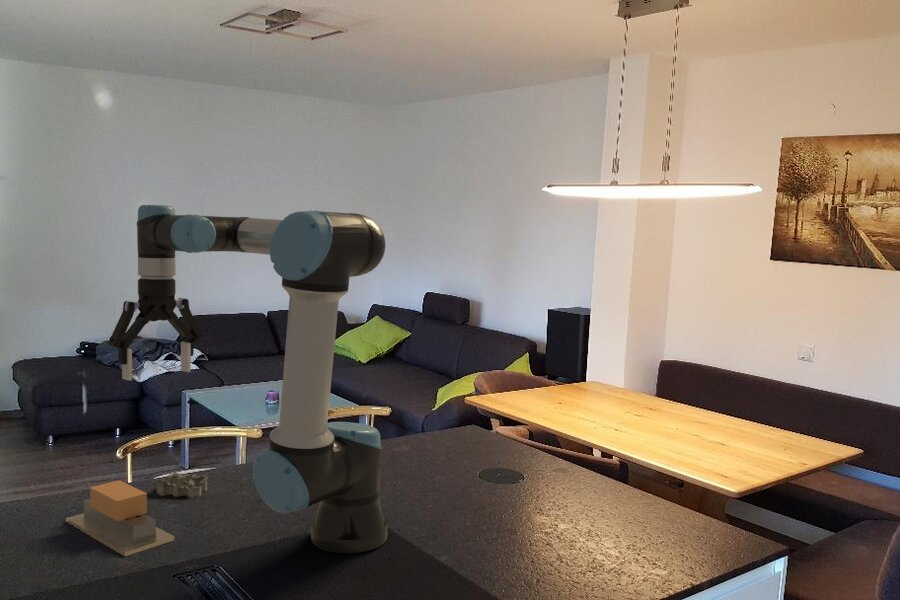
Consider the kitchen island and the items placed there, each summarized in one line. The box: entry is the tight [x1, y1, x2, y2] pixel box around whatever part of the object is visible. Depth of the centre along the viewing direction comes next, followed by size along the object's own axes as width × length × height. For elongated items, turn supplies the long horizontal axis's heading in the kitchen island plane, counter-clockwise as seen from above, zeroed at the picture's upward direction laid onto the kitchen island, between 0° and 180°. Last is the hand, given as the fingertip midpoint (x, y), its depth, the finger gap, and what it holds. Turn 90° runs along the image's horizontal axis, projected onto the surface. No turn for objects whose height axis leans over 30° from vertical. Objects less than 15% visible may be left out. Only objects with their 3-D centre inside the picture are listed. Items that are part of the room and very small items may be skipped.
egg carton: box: [154, 472, 210, 498], centre depth 172 cm, size 11×8×4 cm
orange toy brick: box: [89, 480, 148, 521], centre depth 149 cm, size 11×6×7 cm, turn 51°
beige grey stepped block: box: [65, 498, 175, 557], centre depth 149 cm, size 24×10×4 cm, turn 51°
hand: (157, 375), depth 162 cm, fingers open, 13 cm apart
